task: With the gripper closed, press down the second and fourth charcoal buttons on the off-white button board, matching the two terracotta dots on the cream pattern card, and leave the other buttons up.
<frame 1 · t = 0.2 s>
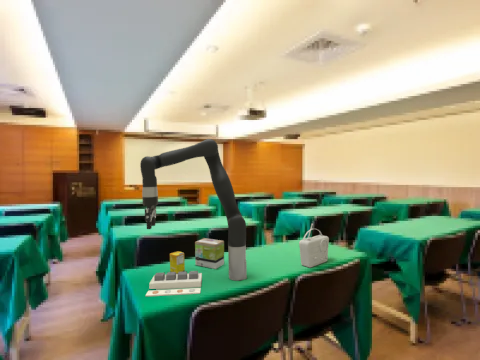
hand: (151, 227, 140), 28 cm above the table, tool pointing down, fingers open, 8 cm apart
button 3: (171, 276, 137), point 4 cm above the table, slide at 0.0 cm
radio: (315, 264, 164), on the table
button 4: (159, 277, 137), point 4 cm above the table, slide at 0.0 cm
tea box: (209, 265, 165), on the table
pattern card: (173, 292, 128), on the table
button 1: (193, 275, 138), point 4 cm above the table, slide at 0.0 cm
supplement box: (177, 272, 154), on the table
button board: (176, 283, 138), on the table
button 2: (182, 276, 138), point 4 cm above the table, slide at 0.0 cm
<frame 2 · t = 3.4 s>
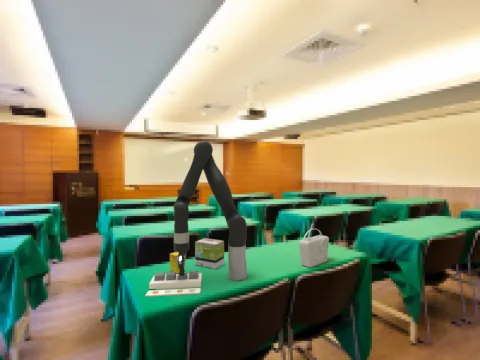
hand: (182, 275, 138), 4 cm above the table, tool pointing down, fingers closed
button 2: (182, 278, 138), point 3 cm above the table, slide at 1.0 cm, touching gripper
everything else where it was.
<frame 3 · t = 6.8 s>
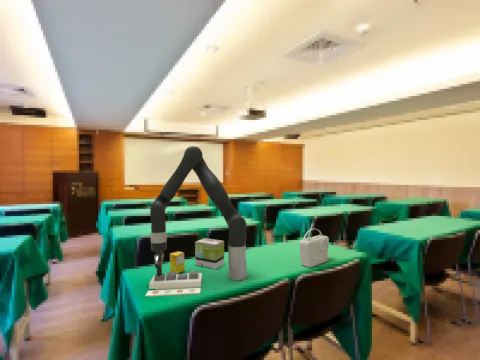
hand: (159, 275, 137), 5 cm above the table, tool pointing down, fingers closed
button 4: (159, 278, 137), point 3 cm above the table, slide at 0.5 cm, touching gripper
button 2: (182, 278, 138), point 3 cm above the table, slide at 1.2 cm
everything else where it was.
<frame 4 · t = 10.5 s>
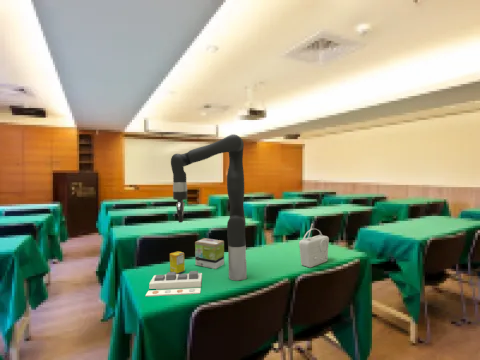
hand: (180, 222, 149), 29 cm above the table, tool pointing down, fingers closed
button 4: (159, 279, 137), point 3 cm above the table, slide at 1.2 cm
everything else where it was.
at the end: button 2 slide at 1.2 cm; button 4 slide at 1.2 cm; button 3 slide at 0.0 cm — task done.
